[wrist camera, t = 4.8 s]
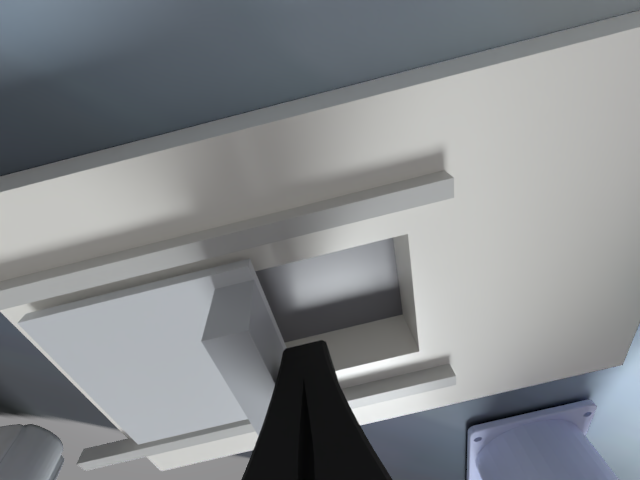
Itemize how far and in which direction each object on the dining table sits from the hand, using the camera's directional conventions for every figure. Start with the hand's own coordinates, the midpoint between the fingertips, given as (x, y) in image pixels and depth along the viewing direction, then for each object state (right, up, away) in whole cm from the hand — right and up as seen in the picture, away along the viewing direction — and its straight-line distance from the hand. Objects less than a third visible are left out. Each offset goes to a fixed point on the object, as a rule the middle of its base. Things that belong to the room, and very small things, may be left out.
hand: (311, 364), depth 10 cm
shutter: (-4, 0, +1) cm, 5 cm away
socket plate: (+2, +3, +4) cm, 5 cm away
